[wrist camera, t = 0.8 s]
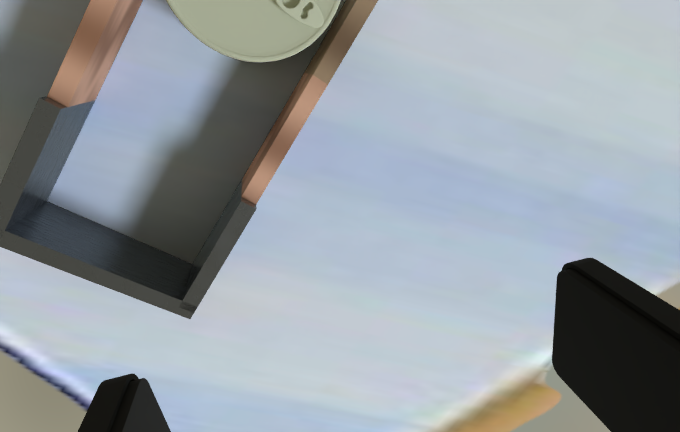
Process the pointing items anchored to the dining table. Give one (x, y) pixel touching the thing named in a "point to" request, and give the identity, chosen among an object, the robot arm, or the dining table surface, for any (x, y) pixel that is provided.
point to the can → (255, 25)
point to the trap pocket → (92, 238)
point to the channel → (109, 33)
